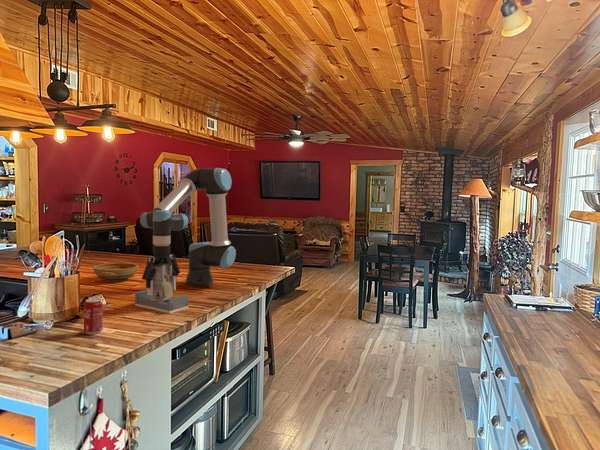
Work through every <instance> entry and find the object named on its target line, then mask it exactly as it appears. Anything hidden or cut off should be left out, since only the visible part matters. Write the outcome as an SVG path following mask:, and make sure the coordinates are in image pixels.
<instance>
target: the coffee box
mask: <svg viewBox="0 0 600 450" xmlns="http://www.w3.org/2000/svg"><path fill="white" fill-rule="evenodd" d="M154 268H156V272H155V274H154V276H153V278H152V281H153V295H152V296H150V301H159V302H163V301H165V300H167V299H169V298H172V297H174V295H173V294H174V293H173V292H174V290H173V263H171V262H170V263H167V264H161V265H157V264H155V265H153V266H152V269H154Z"/></svg>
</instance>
